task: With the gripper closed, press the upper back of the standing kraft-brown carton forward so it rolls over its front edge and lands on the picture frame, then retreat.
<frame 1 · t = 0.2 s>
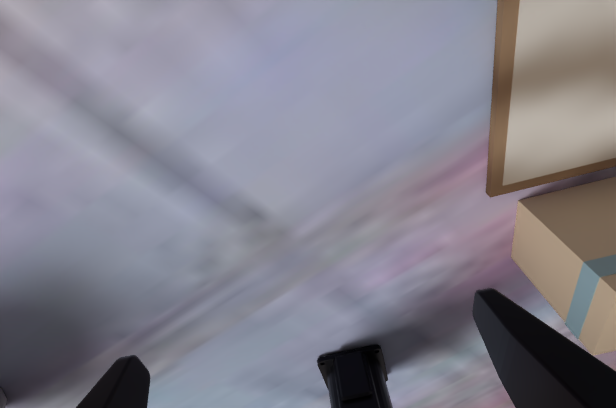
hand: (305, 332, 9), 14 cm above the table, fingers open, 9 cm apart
carton: (571, 216, 27), on the table
picture frame: (609, 68, 21), on the table
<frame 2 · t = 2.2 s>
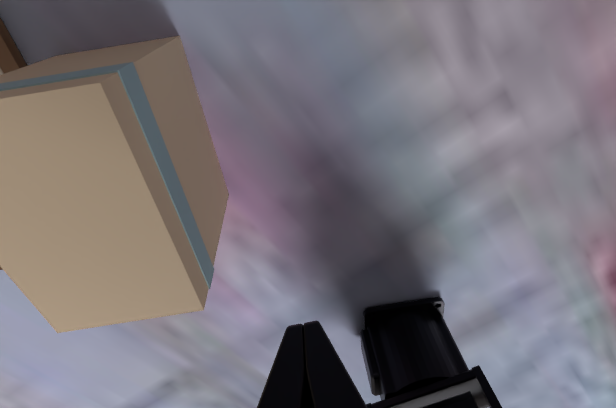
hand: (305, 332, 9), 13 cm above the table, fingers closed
carton: (153, 133, 19), on the table
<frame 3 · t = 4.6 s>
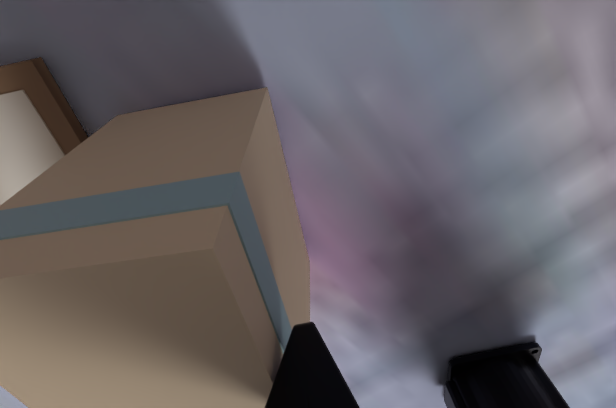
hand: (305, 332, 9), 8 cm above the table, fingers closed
carton: (226, 198, 16), on the table, tilted 6°, touching gripper
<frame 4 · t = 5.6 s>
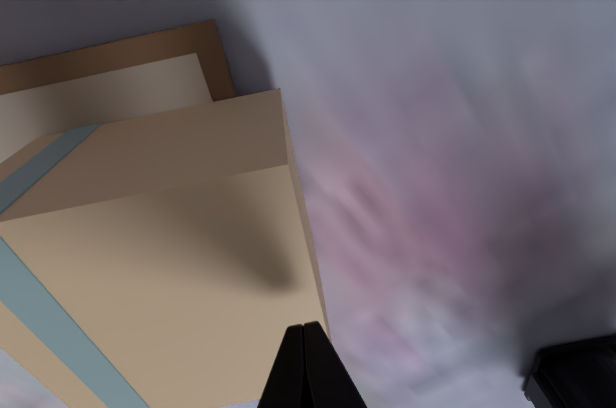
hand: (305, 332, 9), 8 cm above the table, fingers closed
carton: (309, 236, 12), point 4 cm above the table, tilted 89°, touching picture frame
picture frame: (115, 223, 16), on the table
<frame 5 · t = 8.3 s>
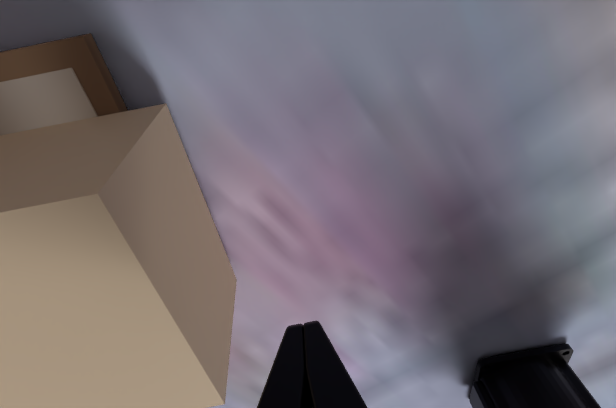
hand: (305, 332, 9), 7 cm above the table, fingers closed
carton: (195, 254, 12), point 4 cm above the table, tilted 89°, touching picture frame
picture frame: (20, 235, 15), on the table
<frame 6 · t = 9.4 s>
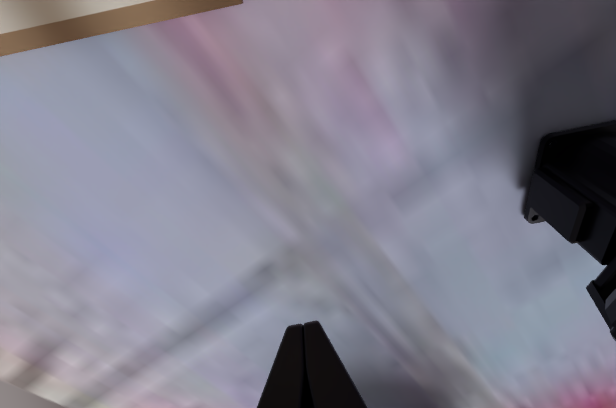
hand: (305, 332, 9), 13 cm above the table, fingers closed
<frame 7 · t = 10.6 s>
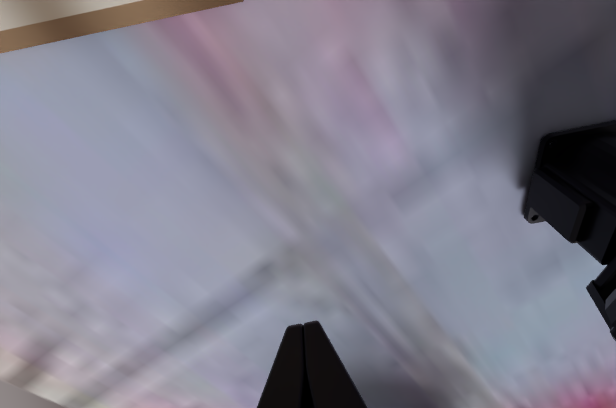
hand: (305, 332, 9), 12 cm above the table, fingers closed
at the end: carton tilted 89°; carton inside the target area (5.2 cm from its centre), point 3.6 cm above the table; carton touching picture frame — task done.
